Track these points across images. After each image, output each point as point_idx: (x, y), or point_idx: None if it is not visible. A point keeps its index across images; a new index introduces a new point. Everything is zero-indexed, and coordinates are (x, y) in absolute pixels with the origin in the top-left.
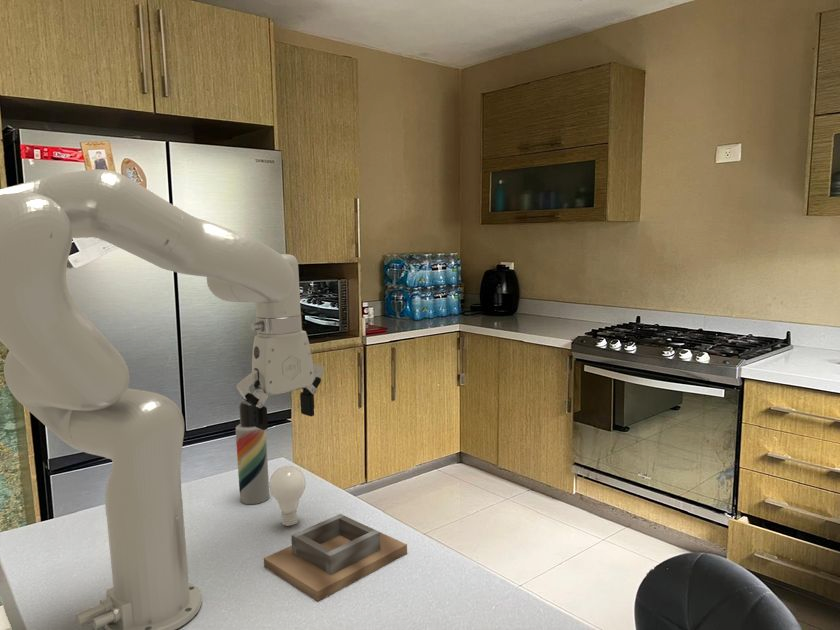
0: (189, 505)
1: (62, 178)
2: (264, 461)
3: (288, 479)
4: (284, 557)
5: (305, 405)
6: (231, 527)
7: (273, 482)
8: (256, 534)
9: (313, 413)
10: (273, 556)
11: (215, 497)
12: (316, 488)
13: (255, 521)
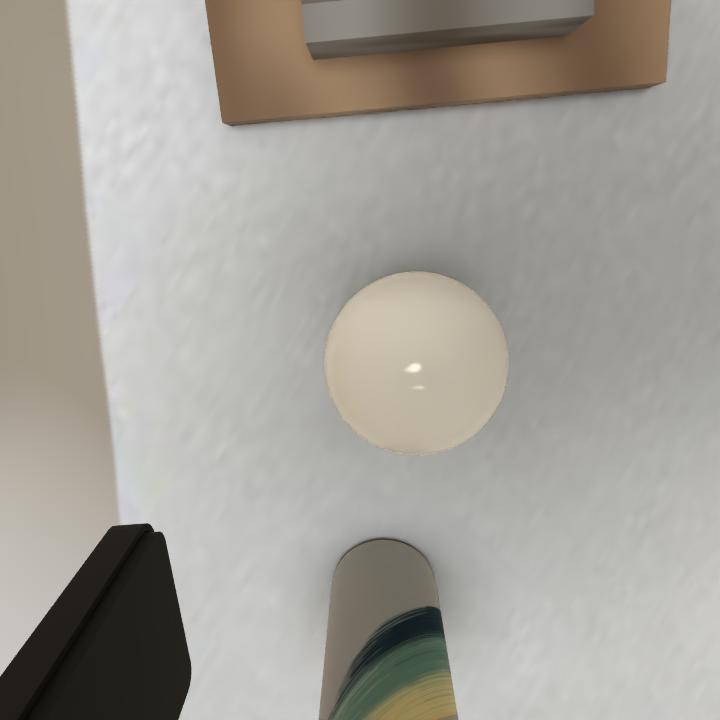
0: (565, 674)
1: None
2: (358, 657)
3: (456, 307)
4: (609, 22)
5: (137, 692)
6: (557, 444)
7: (506, 365)
8: (526, 336)
9: (114, 535)
10: (632, 64)
11: (474, 673)
12: (166, 511)
13: None
